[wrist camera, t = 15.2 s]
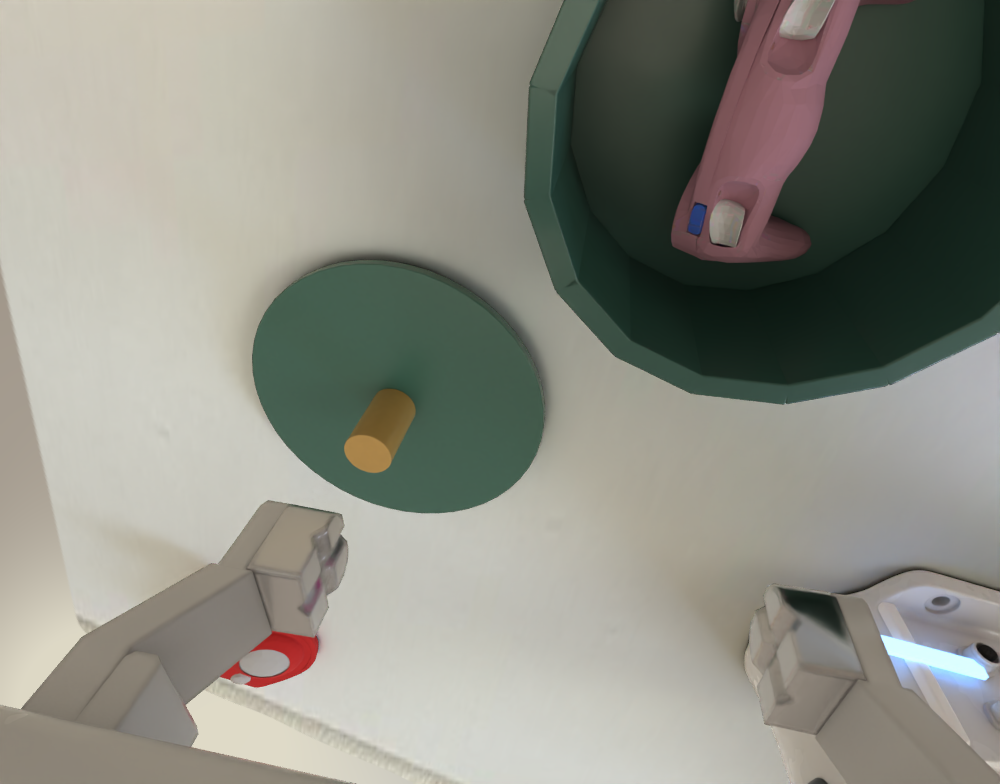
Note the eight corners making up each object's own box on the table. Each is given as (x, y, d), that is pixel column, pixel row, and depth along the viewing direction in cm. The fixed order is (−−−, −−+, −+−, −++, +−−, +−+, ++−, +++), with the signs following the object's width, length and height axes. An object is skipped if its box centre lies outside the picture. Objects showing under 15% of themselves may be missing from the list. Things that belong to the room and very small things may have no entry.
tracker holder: (339, 654, 47) (269, 713, 50) (343, 607, 50) (277, 665, 54) (196, 603, 41) (127, 674, 44) (212, 555, 45) (147, 623, 48)
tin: (1114, -170, 16) (1441, -280, 10) (891, 316, 25) (985, 428, 18) (572, -164, 18) (543, -253, 12) (542, 283, 27) (515, 374, 20)
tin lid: (558, 270, 26) (545, 322, 22) (537, 517, 36) (525, 587, 31) (231, 240, 28) (163, 283, 24) (292, 480, 38) (250, 541, 33)
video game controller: (802, -63, 19) (738, -104, 14) (955, -45, 17) (940, -86, 13) (700, 223, 25) (630, 262, 20) (806, 260, 23) (757, 313, 18)
